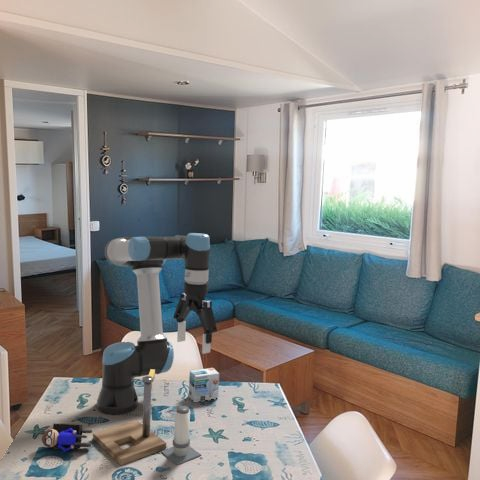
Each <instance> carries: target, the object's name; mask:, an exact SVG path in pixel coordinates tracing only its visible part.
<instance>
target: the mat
mask: <svg viewBox="0 0 480 480" xmlns="http://www.w3.org/2000/svg"><path fill="white" fill-rule="evenodd" d="M160 452H161V454H162V455H164V457H166V458H168V459H169V460H170V461H171V462H172V463H174V465H176V466H179V465H182V464H184V463H186V462H188V461H191V460H193V459H194V460H195V459H196V458H199V457H201V456H202V453H200V452H199V451H197V450H195V449H194V448H193V447H192V446H190V445H189V446H188V454H187V455H186V456H183V457H178V456H175V455H174V453H173V452H174V446H172V447H169V448H166V449H164V450H161V451H160Z"/></svg>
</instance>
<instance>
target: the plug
mask: <svg viewBox="0 0 480 480" xmlns="http://www.w3.org/2000/svg"><path fill="white" fill-rule="evenodd" d="M174 412H175V413H174V415H175V416H174V430H173V431H174V433H173V435H174V436H173V439H172V447H174V452H173V453H174V455H175V456H178V457H183V456H186V455H187V454H188V446H190V444H191V439H190V426H191V425H190V424H191V423H190V422H191V421H190V420H191V409H190V407H189V406H186V405H180V406H177V407H176V409H175V411H174Z"/></svg>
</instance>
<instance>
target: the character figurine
mask: <svg viewBox="0 0 480 480" xmlns="http://www.w3.org/2000/svg"><path fill="white" fill-rule="evenodd" d="M52 426H53V427H52V428H49V429H46V431H44V432H43V434H42V437H41V441H42V442H41V443H42V444H43V445H44V446H45V447H47V448H52V447H56V448H57V447H58V448H60V449H61V450H62V451H63V452H64V453H65V452H68V451H70V450H72V449H74V448H76V449H75V450H79V449H80V448H91V447H92V443H91V442H82V439H87V438H88V436H87V435H84V434H93V430H92V429H88V428H87V429H84V424H73V423H72V424H71V423H53V425H52Z"/></svg>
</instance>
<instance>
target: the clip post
mask: <svg viewBox="0 0 480 480" xmlns="http://www.w3.org/2000/svg"><path fill="white" fill-rule="evenodd" d="M141 380H142V383H143V400H142V403H143V405H142V406H143V407H142V408H143V409H142V424H143V429H142V437H144V438H147V437H149V436H150V431H151V411H152V410H151V408H152V389H151V384H152V382H154V380H155V379H154V378H153V377H151V376H149V375H146V376H142V379H141Z"/></svg>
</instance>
